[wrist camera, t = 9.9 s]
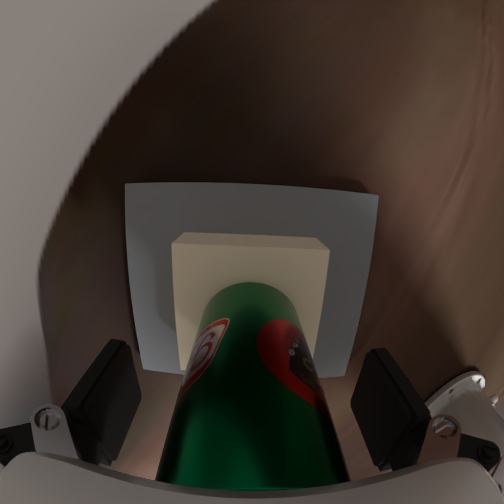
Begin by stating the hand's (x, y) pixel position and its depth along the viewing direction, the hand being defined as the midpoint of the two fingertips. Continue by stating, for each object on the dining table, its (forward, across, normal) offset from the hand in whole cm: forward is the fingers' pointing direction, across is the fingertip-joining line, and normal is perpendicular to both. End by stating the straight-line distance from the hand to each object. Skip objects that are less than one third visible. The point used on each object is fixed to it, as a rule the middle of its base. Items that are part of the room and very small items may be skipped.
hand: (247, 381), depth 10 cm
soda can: (+5, 0, 0) cm, 5 cm away
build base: (+9, 0, 0) cm, 9 cm away
